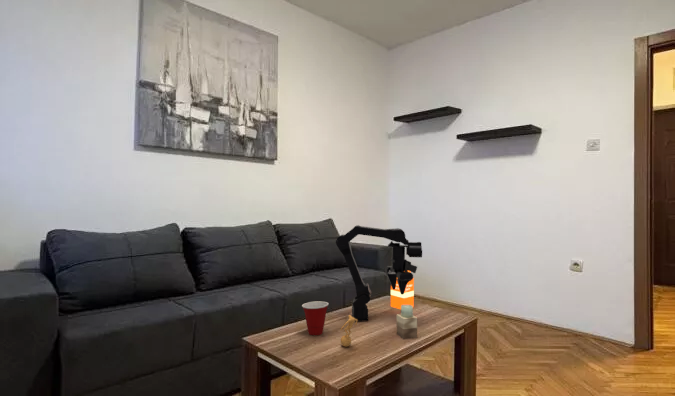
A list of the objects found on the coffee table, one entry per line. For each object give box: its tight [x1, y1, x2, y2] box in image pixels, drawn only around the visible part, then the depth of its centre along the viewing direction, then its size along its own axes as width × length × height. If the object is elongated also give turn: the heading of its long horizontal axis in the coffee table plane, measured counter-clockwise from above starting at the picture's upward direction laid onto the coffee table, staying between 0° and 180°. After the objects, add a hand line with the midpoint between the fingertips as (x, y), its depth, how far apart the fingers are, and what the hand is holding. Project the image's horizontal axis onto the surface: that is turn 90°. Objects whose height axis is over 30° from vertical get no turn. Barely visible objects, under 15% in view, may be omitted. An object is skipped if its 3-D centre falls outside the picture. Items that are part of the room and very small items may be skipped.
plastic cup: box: [301, 300, 329, 336], centre depth 155 cm, size 11×11×12 cm
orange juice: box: [390, 271, 415, 310], centre depth 193 cm, size 8×9×20 cm
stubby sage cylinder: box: [400, 304, 414, 318], centre depth 153 cm, size 5×5×4 cm
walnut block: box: [396, 324, 418, 340], centre depth 153 cm, size 6×6×4 cm
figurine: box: [340, 314, 359, 348], centre depth 141 cm, size 8×6×12 cm
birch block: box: [396, 313, 418, 329], centre depth 153 cm, size 6×6×4 cm
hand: (398, 291), depth 171 cm, fingers open, 9 cm apart
